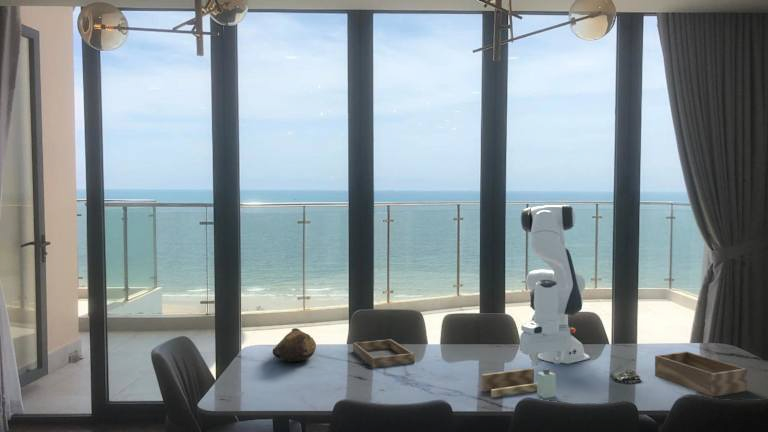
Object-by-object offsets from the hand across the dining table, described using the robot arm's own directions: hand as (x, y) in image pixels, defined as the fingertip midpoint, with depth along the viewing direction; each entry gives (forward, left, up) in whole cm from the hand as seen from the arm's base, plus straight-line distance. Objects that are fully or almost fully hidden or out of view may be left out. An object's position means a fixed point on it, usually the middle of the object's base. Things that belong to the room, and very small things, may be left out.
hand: (545, 364), depth 205 cm
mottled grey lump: (-40, -4, -12) cm, 42 cm away
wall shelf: (+8, -9, -11) cm, 16 cm away
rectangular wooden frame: (+37, -68, -11) cm, 78 cm away
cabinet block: (0, 0, -11) cm, 11 cm away
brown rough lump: (+74, -79, -12) cm, 109 cm away
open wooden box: (-63, +10, -11) cm, 65 cm away
